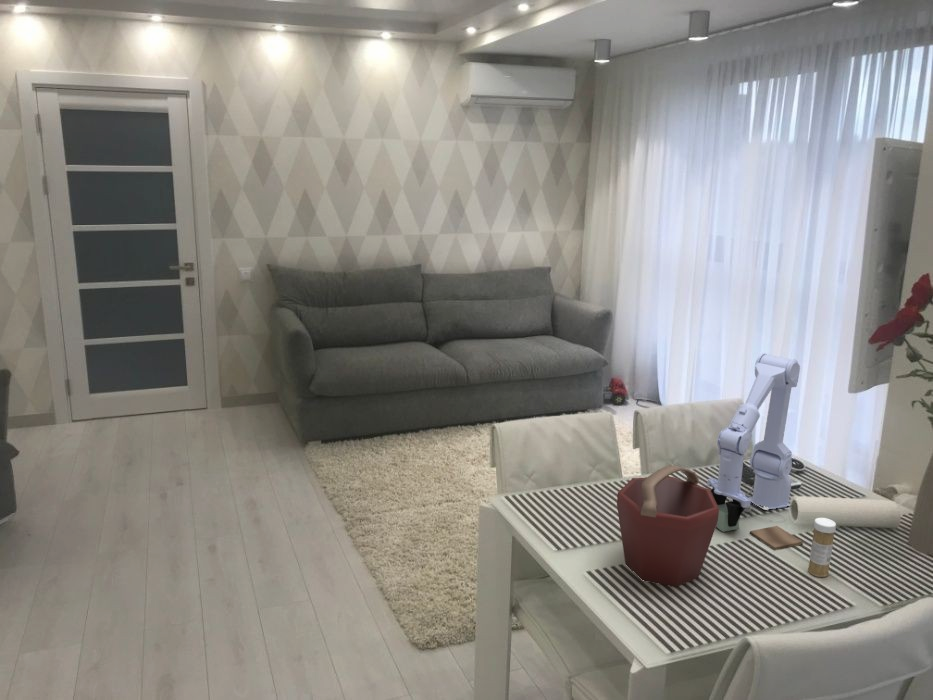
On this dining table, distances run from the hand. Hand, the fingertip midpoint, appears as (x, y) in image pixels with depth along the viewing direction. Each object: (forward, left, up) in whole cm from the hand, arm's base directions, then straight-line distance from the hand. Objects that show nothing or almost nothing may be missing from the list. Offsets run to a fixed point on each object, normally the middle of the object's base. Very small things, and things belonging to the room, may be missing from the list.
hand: (725, 521), depth 197 cm
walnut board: (-8, +10, -2) cm, 13 cm away
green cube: (0, 0, -1) cm, 1 cm away
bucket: (+28, +11, -2) cm, 30 cm away
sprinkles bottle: (-6, +26, -2) cm, 27 cm away
